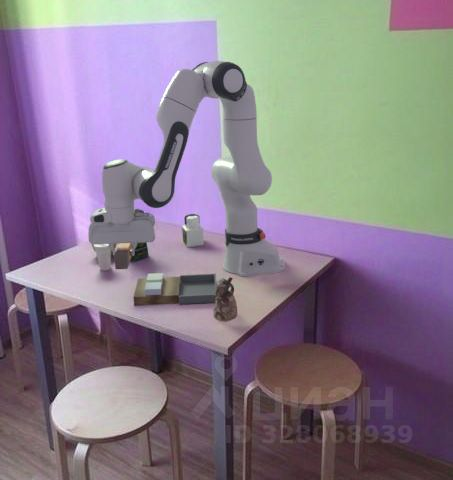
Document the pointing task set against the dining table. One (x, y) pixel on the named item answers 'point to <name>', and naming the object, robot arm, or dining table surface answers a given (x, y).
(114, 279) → the dining table surface
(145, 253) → the coffee jar
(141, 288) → the brown wooden square board
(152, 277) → the tile
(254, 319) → the dining table surface
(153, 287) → the tile
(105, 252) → the smoothie
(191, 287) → the tray
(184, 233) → the medicine bottle
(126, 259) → the two-tone eraser block
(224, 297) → the figurine
